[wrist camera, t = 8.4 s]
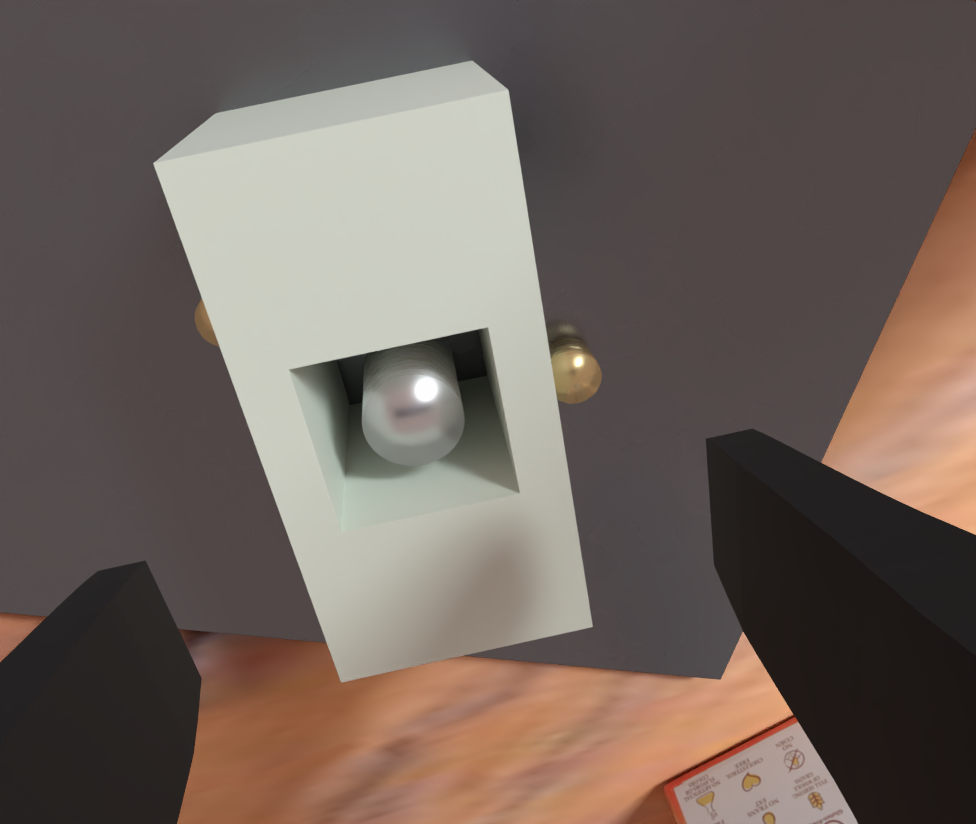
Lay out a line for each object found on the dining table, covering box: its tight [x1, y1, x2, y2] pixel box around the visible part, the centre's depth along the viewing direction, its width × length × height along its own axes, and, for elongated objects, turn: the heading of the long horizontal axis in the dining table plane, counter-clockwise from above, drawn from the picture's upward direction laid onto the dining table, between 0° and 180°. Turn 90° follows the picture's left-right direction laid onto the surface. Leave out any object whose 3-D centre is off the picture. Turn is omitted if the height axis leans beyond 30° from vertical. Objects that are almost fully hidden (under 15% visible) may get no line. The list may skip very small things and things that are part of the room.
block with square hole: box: [153, 61, 593, 683], centre depth 16 cm, size 10×5×5 cm, turn 11°
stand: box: [0, 0, 976, 679], centre depth 17 cm, size 22×18×5 cm
